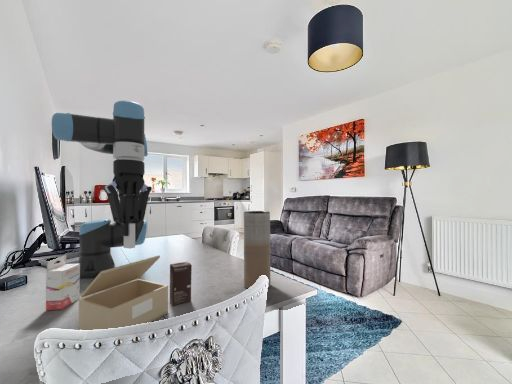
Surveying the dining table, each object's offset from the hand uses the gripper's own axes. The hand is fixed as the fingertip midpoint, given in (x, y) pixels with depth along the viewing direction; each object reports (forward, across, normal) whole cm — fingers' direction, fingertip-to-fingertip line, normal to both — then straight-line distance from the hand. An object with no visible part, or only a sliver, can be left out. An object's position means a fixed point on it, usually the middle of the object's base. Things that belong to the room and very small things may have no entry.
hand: (129, 247), depth 66 cm
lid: (+8, 0, +2) cm, 8 cm away
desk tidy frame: (+20, +26, +84) cm, 90 cm away
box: (+20, +16, -2) cm, 26 cm away
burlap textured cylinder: (+20, +39, -18) cm, 48 cm away
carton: (+20, 0, +2) cm, 20 cm away
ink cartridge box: (+20, -2, +30) cm, 36 cm away
